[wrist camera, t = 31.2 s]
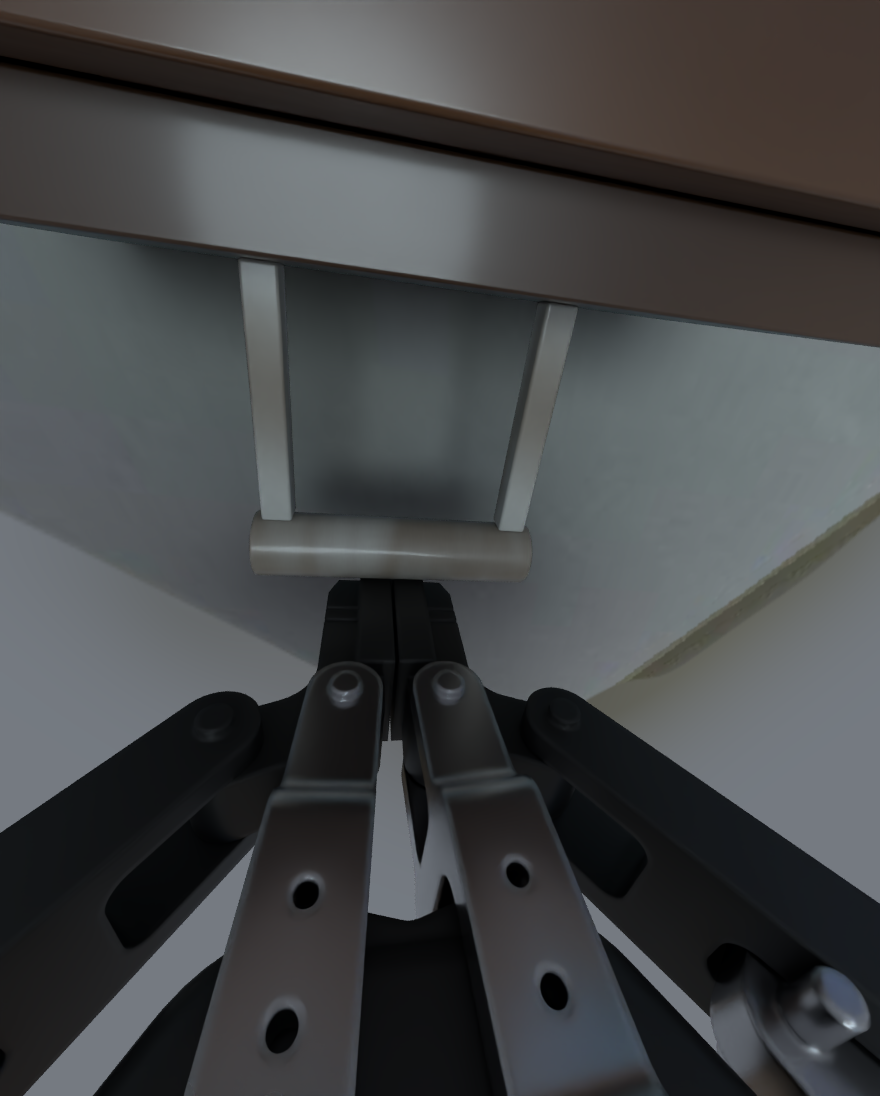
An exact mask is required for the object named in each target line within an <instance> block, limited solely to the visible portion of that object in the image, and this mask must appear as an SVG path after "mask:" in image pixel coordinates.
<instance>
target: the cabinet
mask: <svg viewBox="0 0 880 1096" xmlns="http://www.w3.org/2000/svg"><path fill="white" fill-rule="evenodd" d="M0 61H1V62H6V63H11V64H17V65H22V66H27V67H32V68H37V69H42V70H47V71H52V72H57V73H62V74H67V75H72V76H77V77H82V78H87V79H92V80H97V81H102V82H107V83H112V84H117V85H122V86H127V87H132V88H137V89H142V90H147V91H152V92H157V93H162V94H168V95H173V96H178V97H183V98H188V99H193V100H198V101H203V102H208V103H213V104H218V105H223V106H228V107H233V108H238V109H243V110H248V111H253V112H258V113H263V114H268V115H273V116H278V117H283V118H288V119H293V120H298V121H303V122H308V123H314V124H319V125H324V126H329V127H334V128H339V129H344V130H349V131H354V132H359V133H364V134H369V135H374V136H379V137H384V138H389V139H394V140H399V141H404V142H409V143H414V144H419V145H424V146H429V147H434V148H439V149H444V150H449V151H454V152H459V153H465V154H470V155H475V156H480V157H485V158H490V159H495V160H500V161H505V162H510V163H515V164H520V165H525V166H530V167H535V168H540V169H545V170H550V171H555V172H560V173H565V174H570V175H575V176H580V177H585V178H590V179H595V180H600V181H605V182H610V183H616V184H621V185H626V186H631V187H636V188H641V189H646V190H651V191H656V192H661V193H666V194H671V195H676V196H681V197H686V198H691V199H696V200H701V201H706V202H711V203H716V204H721V205H726V206H731V207H736V208H741V209H746V210H751V211H756V212H762V213H767V214H772V215H777V216H782V217H787V218H792V219H797V220H802V221H807V222H812V223H817V224H822V225H827V226H832V227H837V228H842V229H847V230H852V231H857V232H862V233H867V234H872V235H877V236H880V0H0ZM102 76H105V77H110V78H115V79H120V80H125V81H130V82H135V83H140V84H145V85H150V86H155V87H160V88H165V89H170V90H175V91H180V92H185V93H190V94H195V95H200V96H205V97H210V98H215V99H219V100H224V101H229V102H234V103H239V104H244V105H249V106H254V107H259V108H264V109H269V110H274V111H279V112H284V113H289V114H294V115H299V116H304V117H309V118H314V119H319V120H324V121H329V122H334V123H339V124H344V125H349V126H354V127H359V128H364V129H369V130H374V131H379V132H384V133H389V134H394V135H399V136H404V137H409V138H414V139H419V140H424V141H429V142H434V143H439V144H444V145H449V146H454V147H459V148H464V149H469V150H474V151H479V152H484V153H489V154H494V155H499V156H504V157H509V158H514V159H519V160H524V161H529V162H534V163H539V164H544V165H549V166H553V167H558V168H563V169H568V170H573V171H578V172H583V173H588V174H593V175H598V176H603V177H608V178H613V179H618V180H623V181H628V182H633V183H638V184H643V185H648V186H653V187H658V188H663V189H668V190H665V191H662V190H657V189H652V188H647V187H642V186H637V185H632V184H627V183H622V182H617V181H612V180H607V179H602V178H597V177H592V176H587V175H582V174H577V173H572V172H567V171H562V170H557V169H552V168H547V167H542V166H537V165H532V164H527V163H522V162H517V161H512V160H507V159H502V158H497V157H492V156H487V155H482V154H477V153H472V152H467V151H462V150H457V149H452V148H447V147H442V146H437V145H432V144H427V143H422V142H417V141H412V140H407V139H402V138H397V137H392V136H387V135H382V134H377V133H372V132H367V131H362V130H357V129H352V128H347V127H342V126H337V125H332V124H327V123H322V122H317V121H312V120H307V119H302V118H297V117H292V116H287V115H282V114H277V113H272V112H267V111H262V110H257V109H252V108H247V107H242V106H237V105H232V104H227V103H222V102H217V101H212V100H207V99H202V98H197V97H192V96H187V95H182V94H177V93H172V92H167V91H162V90H157V89H152V88H147V87H142V86H137V85H132V84H126V83H121V82H116V81H111V80H106V79H105V78H103V77H102Z"/></svg>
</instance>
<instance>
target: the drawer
mask: <svg viewBox="0 0 880 1096" xmlns="http://www.w3.org/2000/svg"><path fill="white" fill-rule="evenodd" d="M102 77H103V78H105V79H106V80H111V81H116V82H121V83H126V84H132V85H137V86H142V87H147V88H152V89H157V90H162V91H167V92H172V93H177V94H182V95H187V96H192V97H197V98H202V99H207V100H212V101H217V102H222V103H227V104H232V105H237V106H242V107H247V108H252V109H257V110H262V111H267V112H272V113H277V114H282V115H287V116H292V117H297V118H302V119H307V120H312V121H317V122H322V123H327V124H332V125H337V126H342V127H347V128H352V129H357V130H362V131H367V132H372V133H377V134H382V135H387V136H392V137H397V138H402V139H407V140H412V141H417V142H422V143H427V144H432V145H437V146H442V147H447V148H452V149H457V150H462V151H467V152H472V153H477V154H482V155H487V156H492V157H497V158H502V159H507V160H512V161H517V162H522V163H527V164H532V165H537V166H542V167H547V168H552V169H557V170H562V171H567V172H572V173H577V174H582V175H587V176H592V177H597V178H602V179H607V180H612V181H617V182H622V183H627V184H632V185H637V186H642V187H647V188H652V189H657V190H662V191H665V190H668V189H663V188H658V187H653V186H648V185H643V184H638V183H633V182H628V181H623V180H618V179H613V178H608V177H603V176H598V175H593V174H588V173H583V172H578V171H573V170H568V169H563V168H558V167H553V166H549V165H544V164H539V163H534V162H529V161H524V160H519V159H514V158H509V157H504V156H499V155H494V154H489V153H484V152H479V151H474V150H469V149H464V148H459V147H454V146H449V145H444V144H439V143H434V142H429V141H424V140H419V139H414V138H409V137H404V136H399V135H394V134H389V133H384V132H379V131H374V130H369V129H364V128H359V127H354V126H349V125H344V124H339V123H334V122H329V121H324V120H319V119H314V118H309V117H304V116H299V115H294V114H289V113H284V112H279V111H274V110H269V109H264V108H259V107H254V106H249V105H244V104H239V103H234V102H229V101H224V100H219V99H215V98H210V97H205V96H200V95H195V94H190V93H185V92H180V91H175V90H170V89H165V88H160V87H155V86H150V85H145V84H140V83H135V82H130V81H125V80H120V79H115V78H110V77H105V76H102ZM0 223H3V224H9V225H15V226H22V227H28V228H34V229H41V230H47V231H53V232H60V233H66V234H72V235H79V236H85V237H92V238H98V239H104V240H111V241H118V242H125V243H132V244H139V245H146V246H153V247H160V248H167V249H174V250H181V251H188V252H195V253H202V254H209V255H216V256H223V257H229V258H236V259H238V270H239V281H240V292H241V303H242V313H243V324H244V335H245V345H246V356H247V367H248V378H249V388H250V399H251V410H252V421H253V431H254V442H255V453H256V463H257V474H258V485H259V496H260V506H261V510H259V511H257V512H256V513H255V515H254V518H253V521H252V525H251V530H250V539H249V555H250V563H251V567H252V570H253V572H254V574H256V575H272V576H308V577H344V578H379V579H415V580H451V581H486V582H522V581H524V580H525V579H526V577H527V576H528V573H529V570H530V566H531V561H532V541H531V535H530V532H529V530H528V528H527V526H525V522H526V518H527V514H528V510H529V506H530V502H531V498H532V494H533V490H534V486H535V482H536V478H537V474H538V470H539V466H540V462H541V457H542V453H543V449H544V445H545V441H546V437H547V433H548V429H549V425H550V421H551V417H552V413H553V409H554V405H555V401H556V397H557V393H558V389H559V385H560V381H561V377H562V373H563V369H564V365H565V361H566V357H567V353H568V349H569V345H570V341H571V337H572V333H573V329H574V325H575V320H576V316H577V312H578V308H584V309H591V310H598V311H605V312H612V313H619V314H626V315H633V316H640V317H647V318H655V319H663V320H670V321H678V322H686V323H693V324H701V325H709V326H717V327H724V328H732V329H740V330H747V331H755V332H763V333H771V334H778V335H786V336H794V337H801V338H809V339H817V340H825V341H832V342H840V343H848V344H855V345H863V346H871V347H879V348H880V236H877V235H872V234H867V233H862V232H857V231H852V230H847V229H842V228H837V227H832V226H827V225H822V224H817V223H812V222H807V221H802V220H797V219H792V218H787V217H782V216H777V215H772V214H767V213H762V212H756V211H751V210H746V209H741V208H736V207H731V206H726V205H721V204H716V203H711V202H706V201H701V200H696V199H691V198H686V197H681V196H676V195H671V194H666V193H661V192H656V191H651V190H646V189H641V188H636V187H631V186H626V185H621V184H616V183H610V182H605V181H600V180H595V179H590V178H585V177H580V176H575V175H570V174H565V173H560V172H555V171H550V170H545V169H540V168H535V167H530V166H525V165H520V164H515V163H510V162H505V161H500V160H495V159H490V158H485V157H480V156H475V155H470V154H465V153H459V152H454V151H449V150H444V149H439V148H434V147H429V146H424V145H419V144H414V143H409V142H404V141H399V140H394V139H389V138H384V137H379V136H374V135H369V134H364V133H359V132H354V131H349V130H344V129H339V128H334V127H329V126H324V125H319V124H314V123H308V122H303V121H298V120H293V119H288V118H283V117H278V116H273V115H268V114H263V113H258V112H253V111H248V110H243V109H238V108H233V107H228V106H223V105H218V104H213V103H208V102H203V101H198V100H193V99H188V98H183V97H178V96H173V95H168V94H162V93H157V92H152V91H147V90H142V89H137V88H132V87H127V86H122V85H117V84H112V83H107V82H102V81H97V80H92V79H87V78H82V77H77V76H72V75H67V74H62V73H57V72H52V71H47V70H42V69H37V68H32V67H27V66H22V65H17V64H11V63H6V62H1V61H0ZM283 265H285V266H292V267H299V268H306V269H313V270H320V271H327V272H334V273H341V274H348V275H355V276H362V277H369V278H376V279H383V280H390V281H397V282H403V283H410V284H417V285H424V286H431V287H438V288H445V289H452V290H459V291H466V292H473V293H480V294H487V295H494V296H501V297H508V298H515V299H522V300H529V301H536V302H539V303H538V305H537V309H536V314H535V319H534V324H533V329H532V334H531V338H530V343H529V348H528V353H527V358H526V363H525V368H524V372H523V377H522V382H521V387H520V392H519V397H518V402H517V407H516V411H515V416H514V421H513V426H512V431H511V436H510V441H509V445H508V450H507V455H506V460H505V465H504V470H503V475H502V479H501V484H500V489H499V494H498V499H497V504H496V509H495V513H494V521H495V522H477V521H458V520H439V519H419V518H400V517H381V516H362V515H343V514H323V513H304V512H295V509H296V502H295V482H294V461H293V441H292V420H291V399H290V379H289V358H288V338H287V317H286V297H285V276H284V266H283Z"/></svg>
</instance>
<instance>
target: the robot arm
mask: <svg viewBox="0 0 880 1096" xmlns="http://www.w3.org/2000/svg"><path fill="white" fill-rule="evenodd" d="M389 721H390V724H391V740H392V741H393V740H402V741H403V765H402V783H403V791H404V798H405V805H406V812H407V820H408V827H409V834H410V842H411V849H412V856H413V863H414V872H415V906H416V919H415V920H411V921H404V920H399V919H395V918H390V917H386V916H381V915H376V914H372V913H368V900H369V885H370V872H371V858H372V842H373V829H374V814H375V799H376V781H377V773H378V771H379V767H380V758H381V746H382V741H388V731H389ZM254 845H255V847H254V850H253V854H252V857H251V861H250V865H249V868H248V871H247V875H246V878H245V882H244V885H243V889H242V892H241V896H240V900H239V903H238V907H237V910H236V914H235V917H234V921H233V924H232V928H231V931H230V935H229V938H228V942H227V946H226V949H225V952H224V955H223V956H222V957H220V958H219V959H217V960H216V961H215V962H213V963H212V964H210V965H209V966H208V967H206V968H205V969H204V970H203V971H201V972H200V973H199V974H198V975H197V976H196V977H195V978H193V979H192V980H191V981H190V982H189V983H188V984H187V985H185V986H184V987H183V988H182V989H181V990H180V991H179V992H178V994H177V995H176V996H175V997H174V998H173V999H172V1000H171V1001H170V1002H169V1003H168V1004H167V1005H166V1006H165V1007H164V1008H163V1009H162V1011H161V1012H160V1013H159V1014H158V1015H157V1017H156V1018H155V1019H154V1020H153V1021H152V1022H151V1024H150V1025H149V1026H148V1028H147V1029H146V1030H145V1031H144V1032H143V1034H142V1035H141V1036H140V1038H139V1039H138V1040H137V1041H136V1042H135V1044H134V1045H133V1046H132V1047H131V1049H130V1050H129V1051H128V1052H127V1054H126V1055H125V1056H124V1057H123V1059H122V1060H121V1061H120V1062H119V1064H118V1065H117V1066H116V1067H115V1069H114V1070H113V1071H112V1072H111V1074H110V1075H109V1076H108V1078H107V1079H106V1080H105V1081H104V1082H103V1084H102V1085H101V1086H100V1087H99V1089H98V1090H97V1091H96V1093H95V1094H94V1095H93V1096H880V904H879V903H878V902H876V901H875V900H874V899H872V898H871V897H869V896H868V895H866V894H865V893H863V892H862V891H860V890H859V889H858V888H856V887H855V886H853V885H852V884H850V883H849V882H847V881H846V880H845V879H843V878H842V877H840V876H839V875H837V874H836V873H834V872H833V871H832V870H830V869H829V868H827V867H826V866H824V865H823V864H821V863H820V862H818V861H817V860H816V859H814V858H813V857H811V856H810V855H808V854H807V853H805V852H804V851H802V850H801V849H799V848H798V847H796V846H795V845H794V844H792V843H791V842H789V841H788V840H787V839H785V838H783V837H782V836H781V835H779V834H778V833H776V832H775V831H774V830H772V829H770V828H769V827H768V826H766V825H765V824H763V823H762V822H760V821H759V820H758V819H756V818H754V817H753V816H752V815H750V814H749V813H747V812H746V811H744V810H743V809H742V808H740V807H739V806H737V805H736V804H734V803H733V802H731V801H730V800H729V799H727V798H725V797H724V796H723V795H721V794H720V793H718V792H717V791H716V790H714V789H713V788H711V787H710V786H708V785H707V784H705V783H704V782H702V781H701V780H700V779H698V778H697V777H695V776H694V775H692V774H691V773H689V772H688V771H686V770H685V769H683V768H682V767H680V766H679V765H678V764H676V763H675V762H673V761H672V760H671V759H669V758H668V757H666V756H665V755H663V754H662V753H660V752H659V751H657V750H656V749H654V748H653V747H652V746H650V745H649V744H647V743H646V742H644V741H643V740H642V739H640V738H638V737H637V736H636V735H634V734H633V733H631V732H630V731H628V730H627V729H626V728H624V727H623V726H621V725H620V724H618V723H617V722H615V721H614V720H612V719H611V718H610V717H608V716H607V715H605V714H604V713H602V712H601V711H599V710H598V709H597V708H595V707H593V706H592V705H591V704H589V703H588V702H586V701H585V700H584V699H582V698H581V697H579V696H577V695H576V694H574V693H572V692H570V691H567V690H564V689H560V688H552V687H550V688H542V689H539V690H537V691H535V692H534V693H532V694H531V695H530V697H529V698H528V700H527V701H523V700H519V699H515V698H512V697H508V696H504V695H501V694H497V693H495V692H493V691H491V690H489V689H487V688H486V687H484V686H483V684H482V682H481V680H480V678H479V677H478V676H477V675H476V674H475V673H474V672H473V671H472V670H471V669H469V667H468V664H467V660H466V656H465V652H464V648H463V644H462V640H461V636H460V632H459V628H458V624H457V623H456V616H455V612H454V611H453V605H452V601H451V597H450V594H449V593H448V592H447V591H446V590H445V589H444V588H443V586H442V585H441V584H440V583H434V582H423V580H415V579H379V578H360V581H355V580H339V581H338V582H337V583H336V584H335V585H334V587H333V588H332V589H331V590H330V591H329V594H328V601H327V609H326V614H325V622H324V628H323V635H322V642H321V648H320V655H319V662H318V668H317V672H316V673H315V675H314V676H313V677H312V678H311V680H310V681H309V684H308V685H307V686H306V687H305V688H303V689H302V690H301V691H299V692H298V693H296V694H294V695H292V696H290V697H288V698H285V699H282V700H279V701H275V702H272V703H268V704H265V705H261V706H258V704H257V703H256V701H255V700H253V699H252V698H251V697H249V696H247V695H246V694H242V693H239V692H229V691H225V692H217V693H213V694H209V695H206V696H203V697H201V698H199V699H197V700H195V701H193V702H191V703H190V704H188V705H187V706H185V707H184V708H182V709H181V710H180V711H178V712H177V713H175V714H174V715H172V716H171V717H169V718H168V719H167V720H165V721H163V722H162V723H160V724H159V725H158V726H156V727H155V728H153V729H152V730H150V731H149V732H147V733H146V734H144V735H143V736H142V737H140V738H139V739H137V740H136V741H134V742H133V743H131V744H130V745H128V746H127V747H125V748H124V749H122V750H121V751H120V752H118V753H117V754H115V755H114V756H112V757H111V758H109V759H108V760H107V761H105V762H104V763H102V764H100V765H99V766H98V767H96V768H95V769H93V770H92V771H90V772H89V773H87V774H86V775H85V776H83V777H81V778H80V779H79V780H77V781H76V782H74V783H73V784H71V785H70V786H68V787H67V788H65V789H64V790H63V791H61V792H59V793H58V794H57V795H55V796H54V797H52V798H51V799H50V800H48V801H46V802H45V803H43V804H42V805H41V806H39V807H38V808H36V809H35V810H33V811H32V812H30V813H29V814H27V815H26V816H24V817H23V818H21V819H20V820H19V821H17V822H16V823H14V824H13V825H11V826H10V827H8V828H7V829H5V830H4V831H3V832H1V833H0V1096H23V1095H24V1094H25V1093H26V1092H27V1091H28V1090H29V1089H30V1088H31V1086H32V1085H33V1084H34V1083H35V1082H36V1081H37V1080H38V1079H39V1078H40V1077H41V1076H42V1075H43V1073H44V1072H45V1071H46V1070H47V1069H48V1068H49V1067H50V1066H51V1065H52V1064H53V1063H54V1062H55V1061H56V1059H57V1058H58V1057H59V1056H60V1055H61V1054H62V1053H63V1052H64V1051H65V1050H66V1049H67V1047H68V1046H69V1045H70V1044H71V1043H72V1042H73V1041H74V1040H75V1039H76V1038H77V1037H78V1036H79V1034H80V1033H81V1032H82V1031H83V1030H84V1029H85V1028H86V1027H87V1026H88V1025H89V1024H90V1023H91V1022H92V1020H93V1019H94V1018H95V1017H96V1016H97V1015H98V1014H99V1013H100V1012H101V1011H102V1010H103V1009H104V1007H105V1006H106V1005H107V1004H108V1003H109V1002H110V1001H111V1000H112V999H113V998H114V996H116V995H117V993H118V992H119V991H120V990H121V989H122V988H123V987H124V986H125V985H126V984H127V982H128V981H129V980H130V979H131V978H132V977H133V976H134V975H135V974H136V973H137V972H138V971H139V969H140V968H141V967H142V966H143V965H144V964H145V963H146V962H147V961H148V960H149V959H150V958H151V957H152V956H153V954H154V953H155V952H156V951H157V950H158V949H159V948H160V947H161V946H162V945H163V944H164V942H165V941H166V940H167V939H168V938H169V937H170V936H171V935H172V934H173V933H174V932H175V931H176V929H177V928H178V927H179V926H180V925H181V924H182V923H183V922H184V921H185V920H186V919H187V918H188V917H189V916H190V914H191V913H192V912H193V911H194V910H195V909H196V908H197V907H198V906H199V905H200V904H201V903H202V901H203V900H204V899H205V898H206V897H207V896H208V895H209V894H210V893H211V892H212V891H213V889H214V888H215V887H216V886H217V885H218V884H219V883H220V882H221V881H222V880H223V879H224V877H226V876H227V874H228V873H229V872H230V871H231V870H232V869H233V868H234V867H235V866H236V864H238V863H239V861H240V860H241V859H242V858H243V857H244V856H245V855H246V854H247V853H248V852H249V851H250V850H251V848H252V847H253V846H254ZM581 892H582V893H583V894H584V895H585V896H586V897H587V898H588V899H589V900H590V901H591V902H592V903H593V904H594V905H595V906H596V907H597V908H598V909H599V910H600V911H601V912H602V913H603V914H604V915H605V916H606V917H607V918H608V919H610V920H611V921H612V922H613V923H614V924H615V925H616V926H617V927H618V928H619V929H620V930H621V931H622V932H623V933H624V934H625V935H626V936H627V937H628V938H629V939H630V940H631V941H632V942H633V943H634V944H635V945H636V946H637V947H638V948H639V949H640V950H642V951H643V953H644V954H646V955H647V956H648V957H649V958H650V959H651V960H652V961H653V962H654V963H655V964H656V965H657V966H658V967H659V968H660V969H661V970H662V971H663V972H664V973H665V974H666V975H667V976H668V977H669V978H670V979H671V980H672V981H673V982H674V983H675V984H676V985H677V986H678V987H680V988H681V989H682V990H683V991H684V992H685V993H686V994H687V995H688V996H689V997H690V998H691V999H692V1000H693V1001H694V1002H695V1003H696V1004H697V1005H698V1006H699V1007H700V1008H701V1009H702V1010H703V1011H704V1012H705V1013H706V1014H707V1015H708V1016H709V1017H710V1018H711V1024H712V1028H713V1032H714V1035H715V1038H716V1041H717V1052H716V1051H715V1050H714V1049H713V1048H712V1047H711V1046H710V1045H709V1044H708V1043H707V1042H706V1041H705V1040H704V1039H703V1038H702V1037H701V1036H700V1034H698V1033H697V1031H696V1030H695V1029H694V1028H693V1027H692V1026H691V1025H690V1024H689V1023H688V1022H687V1021H686V1020H685V1019H684V1018H683V1017H682V1016H681V1014H680V1013H679V1012H678V1011H677V1010H676V1009H675V1008H674V1007H673V1006H672V1005H671V1004H670V1003H669V1002H668V1001H667V1000H666V999H665V998H664V997H663V996H662V995H661V993H660V992H659V991H658V990H657V989H656V988H655V987H654V986H653V985H652V984H651V983H650V982H649V981H648V980H647V979H646V978H645V977H644V976H643V975H642V973H641V972H640V971H639V970H638V969H637V968H636V967H635V966H634V965H633V964H632V963H631V962H630V961H629V960H628V959H627V958H626V957H625V956H624V955H623V954H622V953H621V952H620V951H619V950H618V949H617V948H616V947H615V946H614V945H613V944H611V943H610V942H609V941H608V940H607V939H605V938H604V937H603V936H602V935H601V934H599V933H598V932H597V930H596V928H595V925H594V923H593V920H592V918H591V915H590V913H589V910H588V908H587V905H586V903H585V901H584V898H583V896H582V893H581Z"/></svg>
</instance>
